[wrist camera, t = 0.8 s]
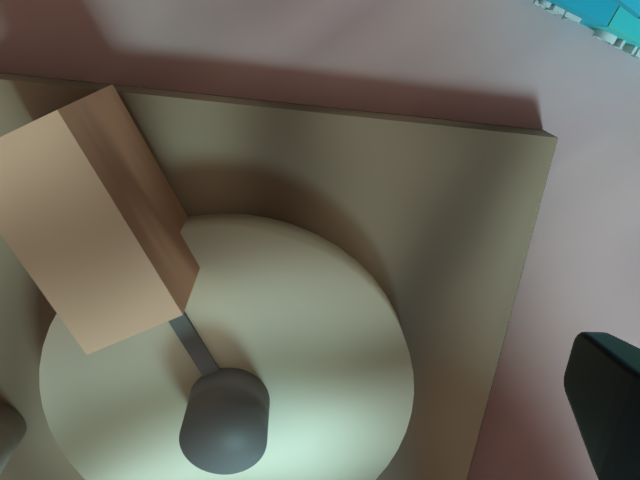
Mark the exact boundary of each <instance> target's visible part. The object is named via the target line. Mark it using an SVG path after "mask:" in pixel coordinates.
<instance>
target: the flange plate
mask: <svg viewBox="0 0 640 480" xmlns="http://www.w3.org/2000/svg"><path fill="white" fill-rule="evenodd" d="M0 234H1V235H2V237H3V238H4V240H5V241H6V242H7V244H8V245H9V247H10V248H11V249H12V251H13V252H14V254H15V255H16V256H17V258H18V259H19V261H20V262H21V263H22V265H23V266H24V268H25V269H26V271H27V272H28V273H29V275H30V276H31V278H32V279H33V280H34V282H35V283H36V285H37V286H38V287H39V289H40V290H41V292H42V293H43V294H44V296H45V297H46V299H47V300H48V301H49V303H50V304H51V306H52V307H53V308H54V310H55V311H56V313H57V314H56V316H55V317H54V319H53V321H52V323H51V325H50V327H49V330H48V333H47V336H46V339H45V342H44V345H43V348H42V354H41V360H40V367H39V389H40V395H41V401H42V407H43V411H44V414H45V417H46V420H47V423H48V426H49V428H50V430H51V432H52V434H53V436H54V438H55V440H56V442H57V444H58V446H59V448H60V449H61V451H62V452H63V453H64V455H65V456H66V458H67V459H68V461H69V462H70V464H71V465H72V466H73V467H74V468H75V469H76V470H77V471H78V472H79V474H80V475H81V476H82V477H83V478H84V479H85V480H376V479H377V478H378V476H379V475H380V474H381V473H382V472H383V471H384V469H385V468H386V467H387V466H388V464H389V463H390V461H391V460H392V458H393V457H394V455H395V453H396V452H397V450H398V449H399V446H400V444H401V442H402V440H403V438H404V435H405V433H406V431H407V427H408V424H409V420H410V417H411V413H412V406H413V398H414V374H413V369H412V363H411V358H410V353H409V350H408V347H407V344H406V340H405V337H404V334H403V331H402V328H401V326H400V323H399V320H398V317H397V314H396V312H395V310H394V308H393V306H392V305H391V303H390V301H389V299H388V297H387V295H386V294H385V292H384V291H383V290H382V288H381V287H380V286H379V284H378V283H377V282H376V280H375V279H374V278H373V276H372V275H371V274H370V273H369V272H368V271H367V270H366V269H365V268H364V267H363V266H362V265H361V264H360V263H359V262H358V261H357V260H355V259H354V258H353V257H351V256H350V255H349V254H347V253H346V252H345V251H344V250H342V249H341V248H340V247H338V246H336V245H335V244H333V243H331V242H330V241H328V240H326V239H324V238H323V237H321V236H319V235H317V234H315V233H313V232H310V231H308V230H306V229H303V228H301V227H298V226H296V225H293V224H290V223H286V222H283V221H279V220H275V219H272V218H267V217H260V216H254V215H247V214H225V213H217V214H206V215H195V216H190V217H187V215H186V213H185V211H184V209H183V208H182V206H181V204H180V202H179V201H178V199H177V197H176V195H175V194H174V192H173V190H172V188H171V186H170V185H169V183H168V181H167V179H166V178H165V176H164V174H163V172H162V171H161V169H160V167H159V165H158V164H157V162H156V160H155V158H154V156H153V155H152V153H151V151H150V149H149V148H148V146H147V144H146V142H145V141H144V139H143V137H142V135H141V133H140V132H139V130H138V128H137V126H136V125H135V123H134V121H133V119H132V118H131V116H130V114H129V112H128V111H127V109H126V107H125V105H124V103H123V102H122V100H121V98H120V96H119V95H118V93H117V91H116V89H115V88H114V86H113V84H112V85H110V86H107V87H105V88H103V89H101V90H99V91H97V92H95V93H92V94H90V95H88V96H86V97H84V98H82V99H79V100H77V101H75V102H73V103H71V104H69V105H66V106H64V107H62V108H60V109H58V110H56V111H54V112H51V113H49V114H47V115H45V116H43V117H41V118H39V119H37V120H35V121H33V122H31V123H28V124H26V125H24V126H22V127H20V128H18V129H16V130H14V131H12V132H10V133H8V134H5V135H3V136H1V137H0Z"/></svg>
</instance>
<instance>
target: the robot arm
mask: <svg viewBox="0 0 640 480" xmlns="http://www.w3.org/2000/svg"><path fill="white" fill-rule="evenodd" d="M564 387H565V392H566V395H567V397H568V400H569V403H570V405H571V408H572V411H573V414H574V416H575V419H576V422H577V424H578V427H579V430H580V432H581V435H582V438H583V441H584V443H585V446H586V449H587V451H588V454H589V457H590V459H591V462H592V465H593V467H594V470H595V472H596V475H597V477H598V479H599V480H640V349H639V348H637V347H635V346H633V345H631V344H629V343H627V342H625V341H623V340H621V339H619V338H617V337H615V336H612V335H610V334H608V333H604V332H581V333H580V334H578V335H577V337H576V338H575V340H574V343H573V347H572V350H571V354H570V357H569V361H568V364H567V368H566V371H565V375H564Z"/></svg>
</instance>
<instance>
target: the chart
mask: <svg viewBox="0 0 640 480" xmlns="http://www.w3.org/2000/svg"><path fill="white" fill-rule="evenodd" d="M533 4H535V5H536V6H539V7H541V8H545V7H546V8H545V10H546V11H548V12H550V13H552V14H554V15H556V14H558V15H559V14H561V15H563V14H564V15H563V17H562V19H564V20H573V21H575V22H577V23H581V24H584V25H585V26H587V27H589V28H591V29H593V30H595V32H594V34H593V36H594V37H596V38H598V39H600V40H602V41H604V42H606V43H608V44H611V45H612V46H614V47H615V48H617V49H619V50H622V51H624V52H626V53H629V54H632V55H631V56H633V57H636V58H639V59H640V0H534V2H533Z"/></svg>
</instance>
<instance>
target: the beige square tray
mask: <svg viewBox="0 0 640 480" xmlns="http://www.w3.org/2000/svg"><path fill="white" fill-rule="evenodd" d="M110 85H112V84H102V83H93V82H83V81H74V80H64V79H55V78H45V77H36V76H26V75H17V74H7V73H0V137H1V136H3V135H5V134H8V133H10V132H12V131H14V130H16V129H18V128H20V127H22V126H24V125H26V124H28V123H31V122H33V121H35V120H37V119H39V118H41V117H43V116H45V115H47V114H49V113H51V112H54V111H56V110H58V109H60V108H62V107H64V106H66V105H69V104H71V103H73V102H75V101H77V100H79V99H82V98H84V97H86V96H88V95H90V94H92V93H95V92H97V91H99V90H101V89H103V88H105V87H107V86H110ZM113 86H114V88H115V89H116V91H117V93H118V95H119V96H120V98H121V100H122V102H123V103H124V105H125V107H126V109H127V111H128V112H129V114H130V116H131V118H132V119H133V121H134V123H135V125H136V126H137V128H138V130H139V132H140V133H141V135H142V137H143V139H144V141H145V142H146V144H147V146H148V148H149V149H150V151H151V153H152V155H153V156H154V158H155V160H156V162H157V164H158V165H159V167H160V169H161V171H162V172H163V174H164V176H165V178H166V179H167V181H168V183H169V185H170V186H171V188H172V190H173V192H174V194H175V195H176V197H177V199H178V201H179V202H180V204H181V206H182V208H183V209H184V211H185V213H186V215H187V217H190V216H195V215H206V214H217V213H225V214H247V215H254V216H260V217H267V218H272V219H275V220H279V221H283V222H286V223H290V224H293V225H296V226H298V227H301V228H303V229H306V230H308V231H310V232H313V233H315V234H317V235H319V236H321V237H323V238H324V239H326V240H328V241H330V242H331V243H333V244H335V245H336V246H338V247H340V248H341V249H342V250H344V251H345V252H346V253H347V254H349V255H350V256H351V257H353V258H354V259H355V260H357V261H358V262H359V263H360V264H361V265H362V266H363V267H364V268H365V269H366V270H367V271H368V272H369V273H370V274H371V275H372V276H373V278H374V279H375V280H376V282H377V283H378V284H379V286H380V287H381V288H382V290H383V291H384V292H385V294H386V295H387V297H388V299H389V301H390V303H391V305H392V306H393V308H394V310H395V312H396V314H397V317H398V320H399V323H400V326H401V328H402V331H403V334H404V337H405V340H406V344H407V347H408V350H409V353H410V358H411V363H412V369H413V374H414V398H413V406H412V413H411V417H410V420H409V424H408V427H407V431H406V433H405V435H404V438H403V440H402V442H401V444H400V446H399V449H398V450H397V452H396V453H395V455H394V457H393V458H392V460H391V461H390V463H389V464H388V466H387V467H386V468H385V469H384V471H383V472H382V473H381V474H380V475H379V476H378V478H377V479H376V480H467V476H468V473H469V469H470V465H471V461H472V458H473V454H474V450H475V446H476V443H477V439H478V435H479V431H480V428H481V424H482V420H483V416H484V413H485V409H486V405H487V401H488V398H489V394H490V390H491V386H492V383H493V379H494V375H495V371H496V368H497V364H498V360H499V356H500V353H501V349H502V345H503V341H504V338H505V334H506V330H507V326H508V323H509V319H510V315H511V312H512V308H513V304H514V300H515V297H516V293H517V289H518V285H519V282H520V278H521V274H522V270H523V267H524V263H525V259H526V255H527V252H528V248H529V244H530V240H531V237H532V233H533V229H534V225H535V222H536V218H537V214H538V210H539V207H540V203H541V199H542V195H543V192H544V188H545V184H546V180H547V177H548V173H549V169H550V165H551V162H552V158H553V154H554V150H555V147H556V143H557V139H558V138H557V137H555V136H554V135H552V134H550V133H548V132H546V131H544V130H537V129H528V128H518V127H509V126H499V125H490V124H480V123H471V122H461V121H452V120H443V119H433V118H424V117H414V116H405V115H395V114H386V113H376V112H367V111H357V110H348V109H338V108H329V107H320V106H310V105H301V104H291V103H282V102H272V101H263V100H253V99H244V98H234V97H225V96H216V95H206V94H197V93H187V92H178V91H168V90H159V89H149V88H140V87H130V86H121V85H113ZM56 314H57V313H56V311H55V310H54V308H53V307H52V306H51V304H50V303H49V301H48V300H47V299H46V297H45V296H44V294H43V293H42V292H41V290H40V289H39V287H38V286H37V285H36V283H35V282H34V280H33V279H32V278H31V276H30V275H29V273H28V272H27V271H26V269H25V268H24V266H23V265H22V263H21V262H20V261H19V259H18V258H17V256H16V255H15V254H14V252H13V251H12V249H11V248H10V247H9V245H8V244H7V242H6V241H5V240H4V238H3V237H2V235H1V234H0V480H85V479H84V478H83V477H82V476H81V475H80V474H79V472H78V471H77V470H76V469H75V468H74V467H73V466H72V465H71V464H70V462H69V461H68V459H67V458H66V456H65V455H64V453H63V452H62V451H61V449H60V448H59V446H58V444H57V442H56V440H55V438H54V436H53V434H52V432H51V430H50V428H49V426H48V423H47V420H46V417H45V414H44V411H43V407H42V401H41V395H40V389H39V367H40V360H41V354H42V348H43V345H44V342H45V339H46V336H47V333H48V330H49V327H50V325H51V323H52V321H53V319H54V317H55V316H56Z"/></svg>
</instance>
